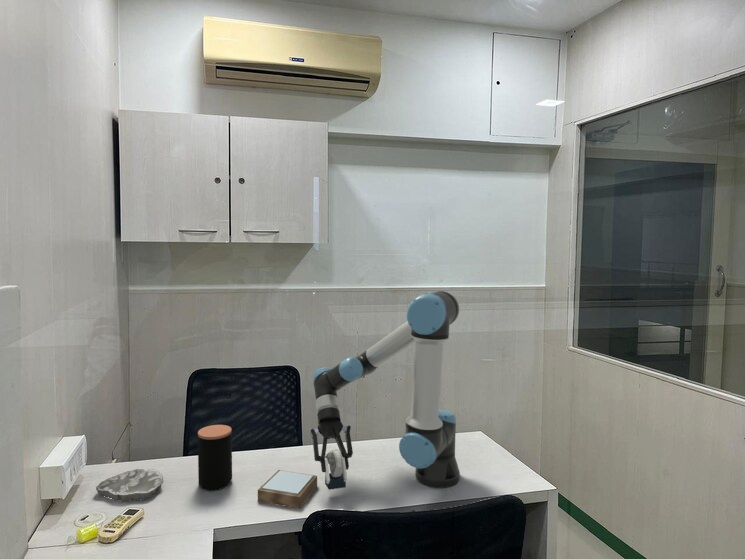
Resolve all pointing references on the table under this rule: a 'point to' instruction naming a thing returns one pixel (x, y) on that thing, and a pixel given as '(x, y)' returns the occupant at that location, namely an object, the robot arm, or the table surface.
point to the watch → (335, 470)
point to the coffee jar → (214, 457)
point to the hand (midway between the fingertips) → (336, 480)
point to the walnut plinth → (287, 488)
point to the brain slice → (131, 485)
